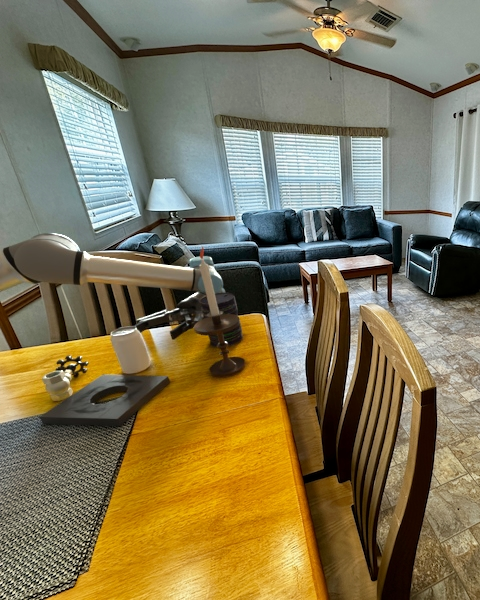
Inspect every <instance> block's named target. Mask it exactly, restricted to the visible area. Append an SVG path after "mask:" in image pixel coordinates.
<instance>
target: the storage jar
mask: <svg viewBox="0 0 480 600" xmlns="http://www.w3.org/2000/svg"><path fill="white" fill-rule="evenodd" d="M215 297H216V302H217V306H218V310H219V311H223V312H224V313H223V314H233V315H237V316H238V317H239V315H238V306H237V301H236V297H235V294H233V292H232V293H231V292H226V293H216V294H215ZM200 303H201V307H202V313H203V316H204V318H203V319H205V318H207V317H208V316H207V314H208V313H210V312H211V311H210V307H209V303H208V299H207V296H205V297H203V298H202V299H201V300H200ZM241 324H242V323H241V322H240V324H239V325H238V326H237V327H236V328H235V329H233V330H230V331H228V332H225V333H223V336H224V341H225V342H228V347H231V346H235V345H236V344H238V343H240V342H241V341H242V340H243V339H244V335H243V329H242V325H241ZM207 337H208V339H209V341H210V342H209V343H210V345H211V346H212V347H214V348H218V347H217V344H218V343H219V339H218V335H207Z"/></svg>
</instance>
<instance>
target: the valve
mask: <svg viewBox="0 0 480 600" xmlns="http://www.w3.org/2000/svg"><path fill="white" fill-rule="evenodd" d="M82 360H83V356H81V355H78V356H77V357H76V358H73V356H72V355H71V354H68V355H66V356H65V357H64V360H63V359H58V360H57V361H56V365H57V367H55V369H54V371H51V372H48V373H46V374H44V375H43V376H42V378H41V380H42V382H43V384H44V385H45V386H44V387H45V391H46V392H47V393H48V394H50V396H49V397H50V399H51V400H52V401H53V402H60V401H61V402H62V401H64V400H65V399H67V398H68V397H70V396H71V395H73V394H74V391H73V388H72V386H71V381H72V380H73V379H72V378H75V379H76V378H79V376H80V373H82V374H86V373H87V372H88V368H86V367H88V366H89V364H90V363H89V361H82ZM70 362H73V363H70ZM67 363H70V364H68V365H66V364H67ZM59 365H60V366H59ZM65 365H66V366H65ZM79 366H80V367H79ZM78 367H79V369H78V370H77V368H78Z"/></svg>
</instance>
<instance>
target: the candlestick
mask: <svg viewBox="0 0 480 600" xmlns="http://www.w3.org/2000/svg"><path fill="white" fill-rule="evenodd" d="M204 250H205V249H204V246H201V249H200V253H199V257H200V258H201V265H199V266H200V270H201V275H202V279H203V283H204V287H205V291H206V295H207V299H208V303H209V307H210V311H211V312H210V313H208V314H207V316H208V317H207V318H202V320H200V321H199V322H197V323H196V324H195V325H194V327H193V329H194V332H195V334H196V335H199V336H208V335H218V339H219V343H218V344H217V347H216V348H218V350H220V352H219V356H222V358H221V359H219V360H217V361H215V362H214V363H212V365H210V367H209V373H210V376H212V377H214V378H227V377H231V376H234V375H237V374H238V373H240V372H241V371H242V370H244V369H245V367H246V360H245V359H244V358H243V357H241V356H229V354H230V350H229V349H228V347H229V346H228V342H225V341H224V336H223V333H225V332H228V331H230V330H233V329H235V328H236V327H237V326H238V325H239V324H240V323H241V320H240V319H241V318H240V317H239V315H238V314H237V315H238V316H237V315H233V314H223V313H224V312H223V311H219V310H218V306H217V302H216V297H215V293H214V289H213V285H212V280H211V276H210V272H209V267H208V264H206V263H205V262H204V259H202V258H203V256H204Z"/></svg>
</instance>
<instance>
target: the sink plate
mask: <svg viewBox="0 0 480 600" xmlns="http://www.w3.org/2000/svg"><path fill="white" fill-rule="evenodd" d="M170 383H171V380H170V378H169V375H145V374H144V375H143V374H141V375H140V374H101V375H100V376H98V377H97V378H95V379H94V380H92V381H90V383H87V384H85V386H83V387H82V388H80V389H79V390H77V391H76V392H73V394H72V395H71V396H70V397H68V398H67V399H64V400H61V402H60V403H58V404H56V405H55V406H53V407H52V408H50V409H49V410H47V411H45V412H44V413H43V414H41V415H40V416H39V419H40V422H41V423H42V424H43V425H66V426H67V425H69V426H70V425H71V426H72V425H73V426H106V427H107V426H108V427H115V426H116V427H121V426H122V425H123V424H124V423H125V422H127V421H128V420H129V419H130V418H131V417H132V416H134V415H135V414H136V413H137V412H139V410H140V409H142V407H144V406H145V405H147V403H148V402H149V401H150V400H152V399H153V398H154V397H155V396H157V394H159V393H160V392H161V391H162V390H163V389H164V388H166V386H168V385H169V384H170ZM117 393H124V394H122V395H121V396H119V397H118V398H116V399H114V400H111V401H109V402H104V403H97V402H98V401H100V400H101V399H103V398H106V397H107V396H110V395H113V394H117ZM96 403H97V404H96Z"/></svg>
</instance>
